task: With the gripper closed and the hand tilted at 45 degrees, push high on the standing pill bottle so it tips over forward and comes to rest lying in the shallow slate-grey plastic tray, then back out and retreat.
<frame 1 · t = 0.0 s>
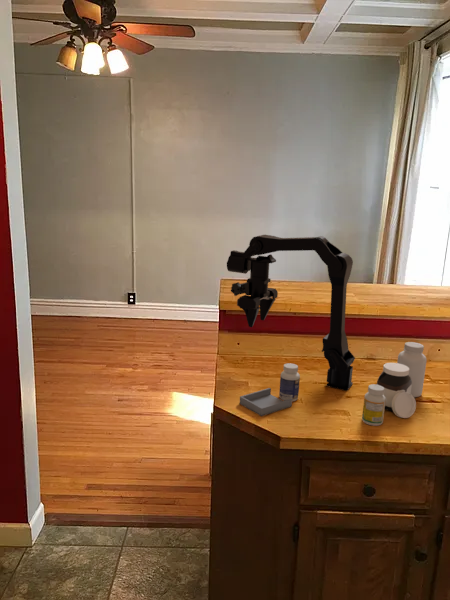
hand: (256, 323, 172), 15 cm above the table, tool pointing down, fingers open, 9 cm apart
supplement bottle: (372, 422, 141), on the table
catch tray: (265, 405, 147), on the table
pill bottle 2: (407, 393, 160), on the table
pill bottle: (288, 398, 153), on the table
spread jar: (395, 410, 148), on the table
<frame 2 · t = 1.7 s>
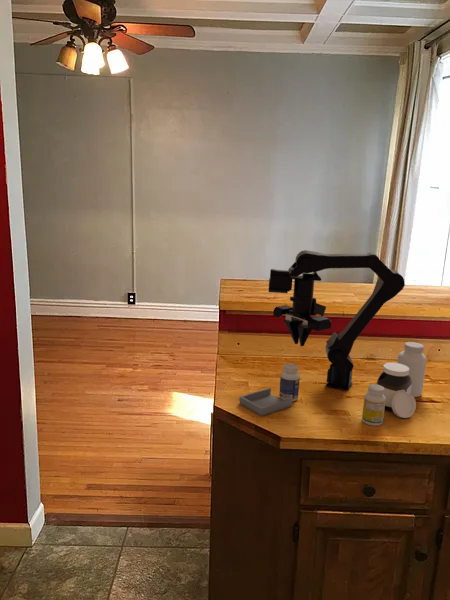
hand: (299, 345, 161), 12 cm above the table, tool pointing down, fingers closed
nothing on the table moved.
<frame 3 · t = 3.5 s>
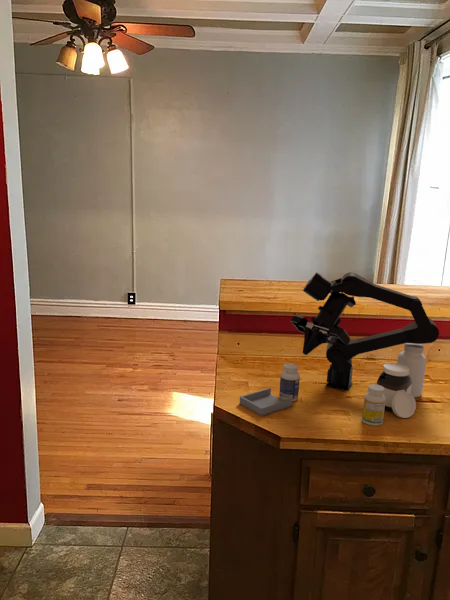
hand: (304, 354, 153), 12 cm above the table, tool tilted 45°, fingers closed
pill bottle 2: (407, 393, 160), on the table, touching arm
everything else where it was.
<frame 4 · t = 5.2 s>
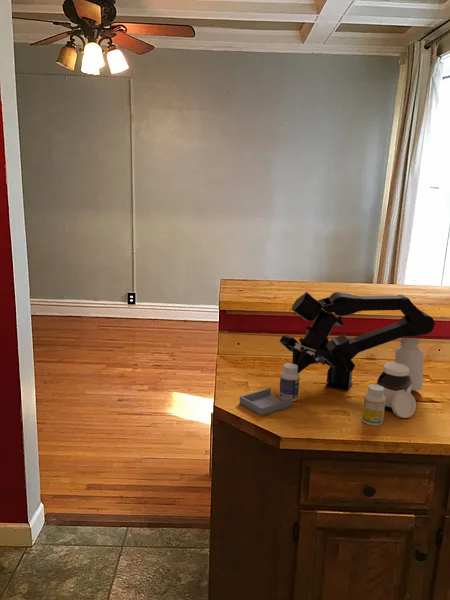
hand: (292, 375, 154), 6 cm above the table, tool tilted 40°, fingers closed
pill bottle 2: (408, 389, 160), point 1 cm above the table, touching arm
pill bottle: (288, 398, 153), on the table, touching gripper
everything else where it was.
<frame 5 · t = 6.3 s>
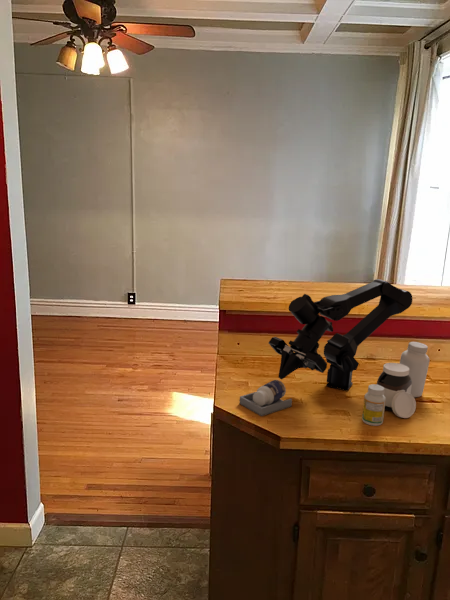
hand: (279, 378, 149), 7 cm above the table, tool tilted 45°, fingers closed
pill bottle 2: (408, 392, 160), on the table
pill bottle: (278, 388, 151), point 3 cm above the table, touching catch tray
everything else where it was.
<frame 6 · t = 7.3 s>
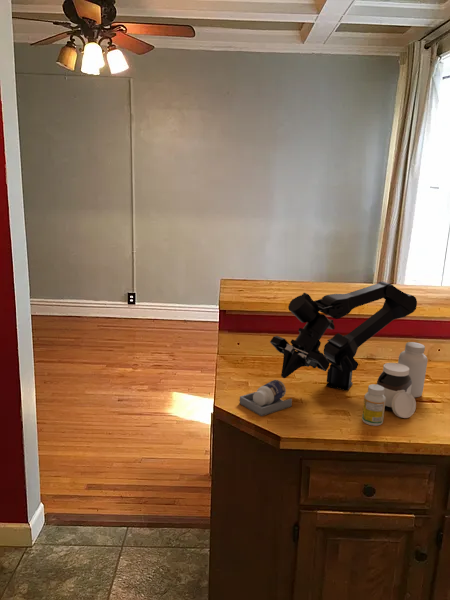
hand: (282, 377, 150), 7 cm above the table, tool tilted 45°, fingers closed
nothing on the table moved.
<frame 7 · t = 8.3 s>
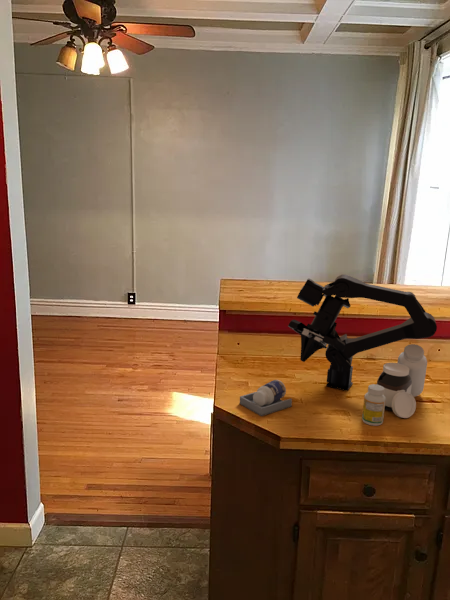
hand: (302, 361, 157), 9 cm above the table, tool tilted 30°, fingers closed
pill bottle 2: (408, 388, 159), point 1 cm above the table
everything else where it was.
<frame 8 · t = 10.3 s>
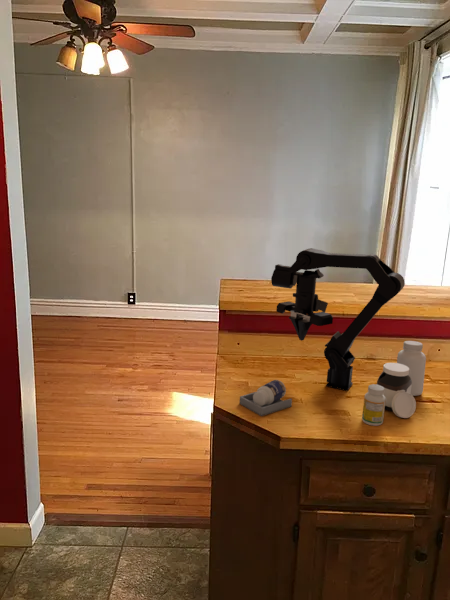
hand: (301, 340, 166), 12 cm above the table, tool pointing down, fingers closed
pill bottle 2: (408, 392, 160), on the table
everything else where it was.
at the end: pill bottle tilted 90°; pill bottle touching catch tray; pill bottle inside the target area (3.3 cm from its centre), point 3.1 cm above the table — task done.
